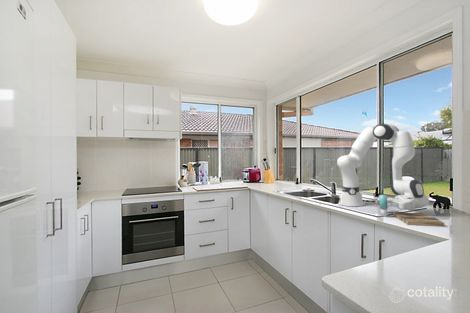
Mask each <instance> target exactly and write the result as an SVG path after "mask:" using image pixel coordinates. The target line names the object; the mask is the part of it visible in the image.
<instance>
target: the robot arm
mask: <svg viewBox="0 0 470 313" xmlns="http://www.w3.org/2000/svg"><path fill="white" fill-rule="evenodd" d="M377 140H381V141H390V142H391V144H392V150H393V156H392V158H391V161H390V170H391V173H390V174H391V182H390V190H391V192H392V193H393V194H394V195H396V196H394V197H393V198H392V197H388V196H387V206H388V207H390V208H391V207H392V208H397V209H398V210H409V211H415V210H416V209H423V208H425V207H427V206H428V205H429V204H430V199H429V197H428V195H427V194H425V191H424V190H425V189H424V186H423V183H421V182H420V180H418V179H407V180H403V167H404V165H406V163H407V162H410V161H411V160H412V159H413V158H414V157H415V155H416V149H415V144H414V140H413V138H412V135H411V133H410V132H409V131H407V130H400V129H399V128H398V127H397V126H395V125H392V124H391V123H390V124H389V123H379V124H376V125H375V126H374V127H373V126H367V127H365V128H364V129H363V130H362V131H361V133H360V134H359V135H358V136H357V138H356V139H355V141H354V142H353V144H352V145H351V149H350V152H349V154H345V155H342V156H340V157H338V158H337V160H336V164H337V166H338V167H339V169H340V173H341V176H342V188H341V189H342V190H341V191H342V192H341V193H340V195H338V196H339V197H338V198H339V200H338V203H337V205H339V206H344V207H346V206H347V207H362V206H366V203H364V202H363V200H364V199H363V194H362V192H360V190H361V188H360V186H359V185H360V182H359V176H358V174H357V171H356V169H357V168H359V167H361V165H362V164H363V160H364V158H365V156H366V154H367V152H368V151H369V150H370V149H371V147H372V146H373V145H374V143H375V142H376V141H377ZM375 204H380V200H379V197H377V200H375Z"/></svg>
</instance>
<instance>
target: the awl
mask: <svg viewBox="0 0 470 313" xmlns="http://www.w3.org/2000/svg"><path fill="white" fill-rule="evenodd" d="M378 196H379V197H378V198H379V200H380V203H379V208H380V216H381V217H382V216H383V218H387V217H388V207H389V206H388V205H387V197H388V195H387V194H379V195H378Z"/></svg>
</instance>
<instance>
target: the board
mask: <svg viewBox="0 0 470 313" xmlns="http://www.w3.org/2000/svg"><path fill="white" fill-rule="evenodd" d="M392 215H393V216H394V217H395V218H396V219H398V220H399V221H401V222H403V223H404V224H406V225H407V226H424V227H425V226H427V227H445V226H446V225H445V222H444V221H442V220H440V219H438V218H435V217H433V216H431V215H429V214H427V213H424V212H396V211H395V212H394V211H393V214H392Z"/></svg>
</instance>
